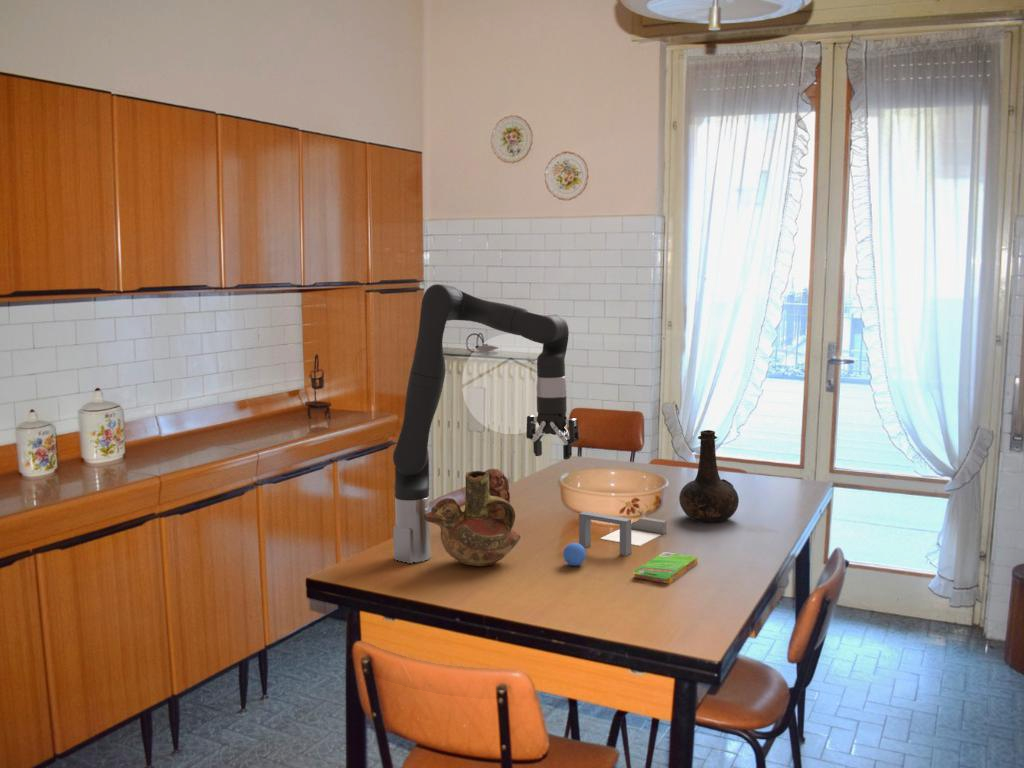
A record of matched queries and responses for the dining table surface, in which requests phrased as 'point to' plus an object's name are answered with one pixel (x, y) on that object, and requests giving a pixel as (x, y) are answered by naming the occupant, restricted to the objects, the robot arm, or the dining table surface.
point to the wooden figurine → (498, 491)
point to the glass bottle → (708, 488)
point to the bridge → (623, 522)
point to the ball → (574, 554)
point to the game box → (665, 567)
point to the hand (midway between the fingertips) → (552, 457)
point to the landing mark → (632, 537)
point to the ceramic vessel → (475, 524)
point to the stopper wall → (650, 525)
